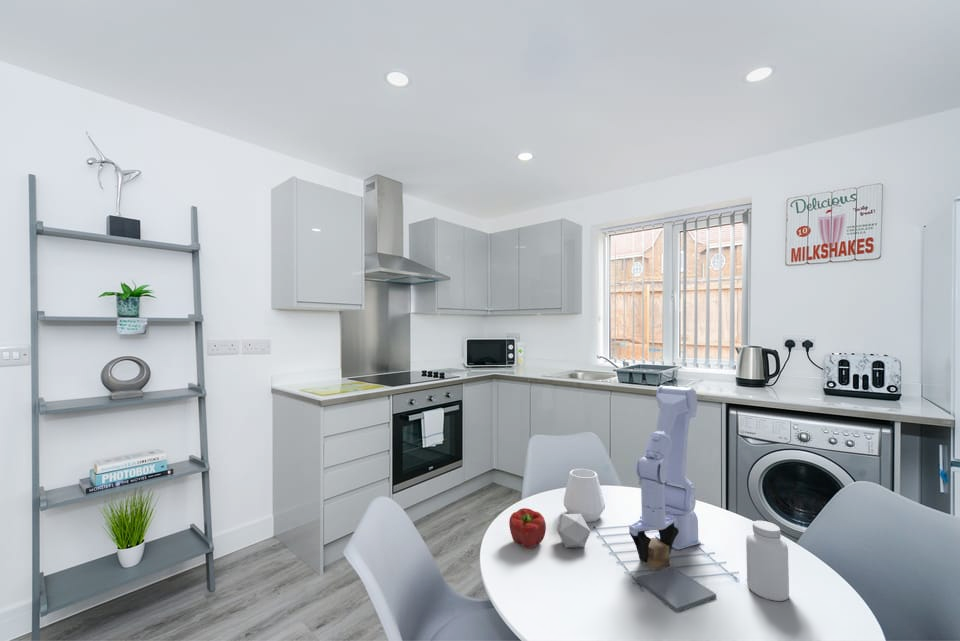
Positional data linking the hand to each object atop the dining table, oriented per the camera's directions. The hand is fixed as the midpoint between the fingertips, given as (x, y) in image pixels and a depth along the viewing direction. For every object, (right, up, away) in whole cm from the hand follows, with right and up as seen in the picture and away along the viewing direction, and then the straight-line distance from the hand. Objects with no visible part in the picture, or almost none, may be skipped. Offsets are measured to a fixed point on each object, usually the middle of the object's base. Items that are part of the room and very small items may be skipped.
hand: (654, 557), depth 106 cm
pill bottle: (+21, -1, -12) cm, 24 cm away
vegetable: (-32, -2, +10) cm, 33 cm away
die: (-19, -2, +10) cm, 21 cm away
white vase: (-11, -3, +28) cm, 30 cm away
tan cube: (0, -2, 0) cm, 2 cm away
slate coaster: (0, -1, -11) cm, 11 cm away
